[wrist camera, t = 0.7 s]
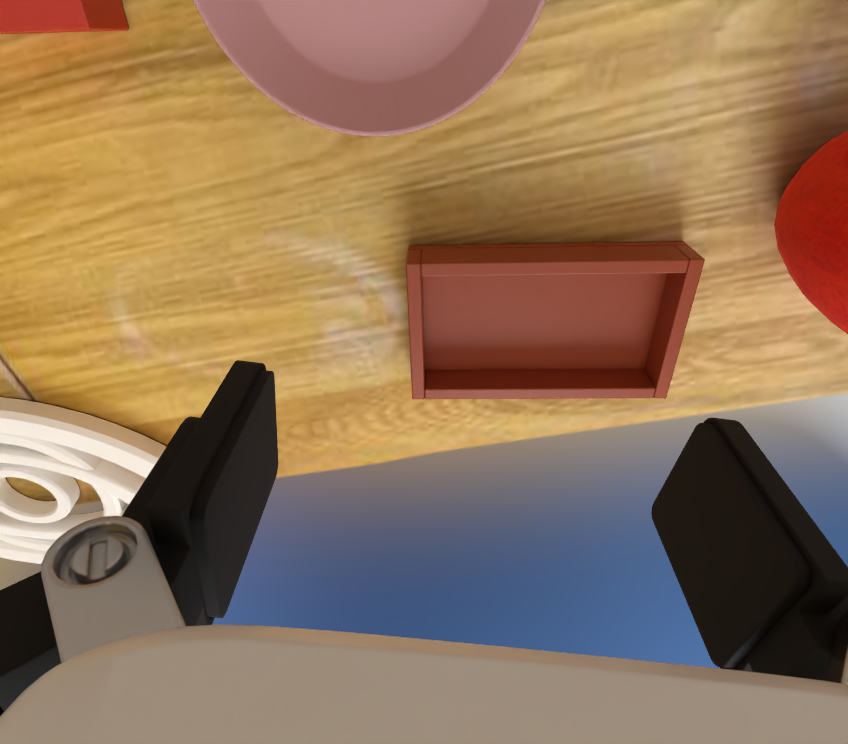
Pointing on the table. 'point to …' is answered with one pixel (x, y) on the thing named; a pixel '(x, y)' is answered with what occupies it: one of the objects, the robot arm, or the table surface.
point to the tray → (548, 319)
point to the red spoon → (61, 16)
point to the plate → (371, 55)
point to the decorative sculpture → (63, 471)
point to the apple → (818, 229)
